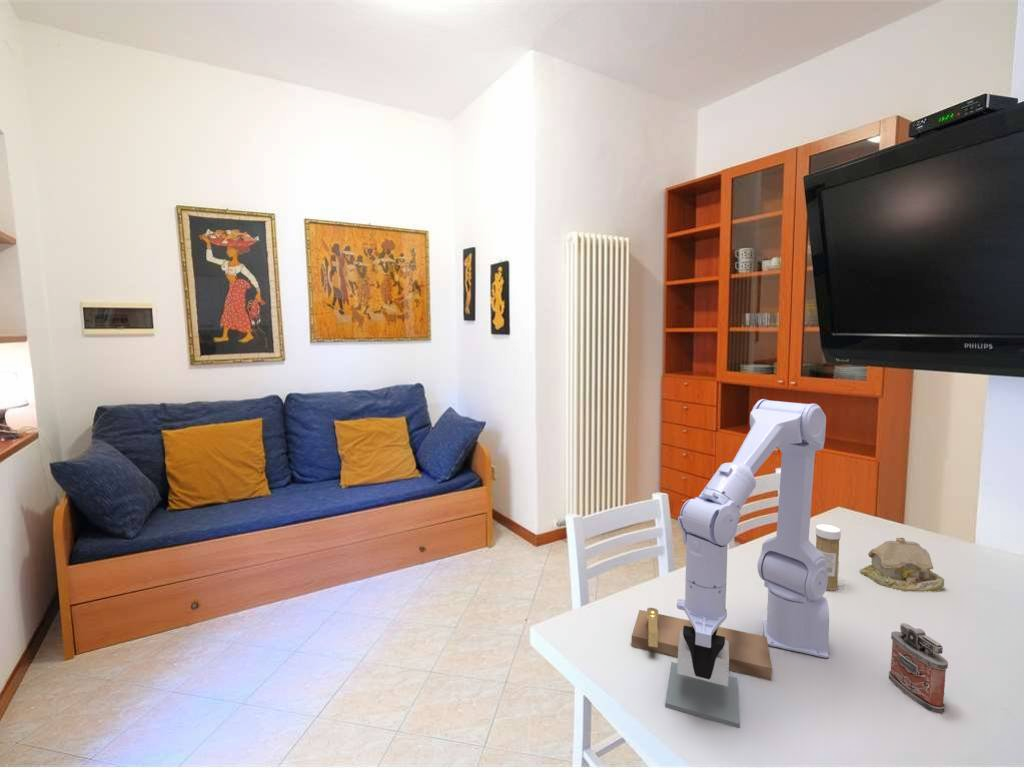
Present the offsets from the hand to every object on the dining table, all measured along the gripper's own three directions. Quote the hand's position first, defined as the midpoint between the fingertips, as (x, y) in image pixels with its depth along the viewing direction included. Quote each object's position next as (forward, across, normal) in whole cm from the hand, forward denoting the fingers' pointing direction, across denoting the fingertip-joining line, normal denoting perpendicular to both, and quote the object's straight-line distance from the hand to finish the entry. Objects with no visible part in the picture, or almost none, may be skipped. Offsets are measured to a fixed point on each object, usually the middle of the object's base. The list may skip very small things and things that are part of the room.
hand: (703, 664), depth 73 cm
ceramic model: (+5, -56, +40) cm, 69 cm away
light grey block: (+1, 0, 0) cm, 1 cm away
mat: (+5, 0, 0) cm, 5 cm away
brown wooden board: (+5, -12, -1) cm, 13 cm away
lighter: (+5, -13, +30) cm, 33 cm away
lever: (+3, -9, -9) cm, 13 cm away
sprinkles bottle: (+5, -46, +24) cm, 52 cm away
